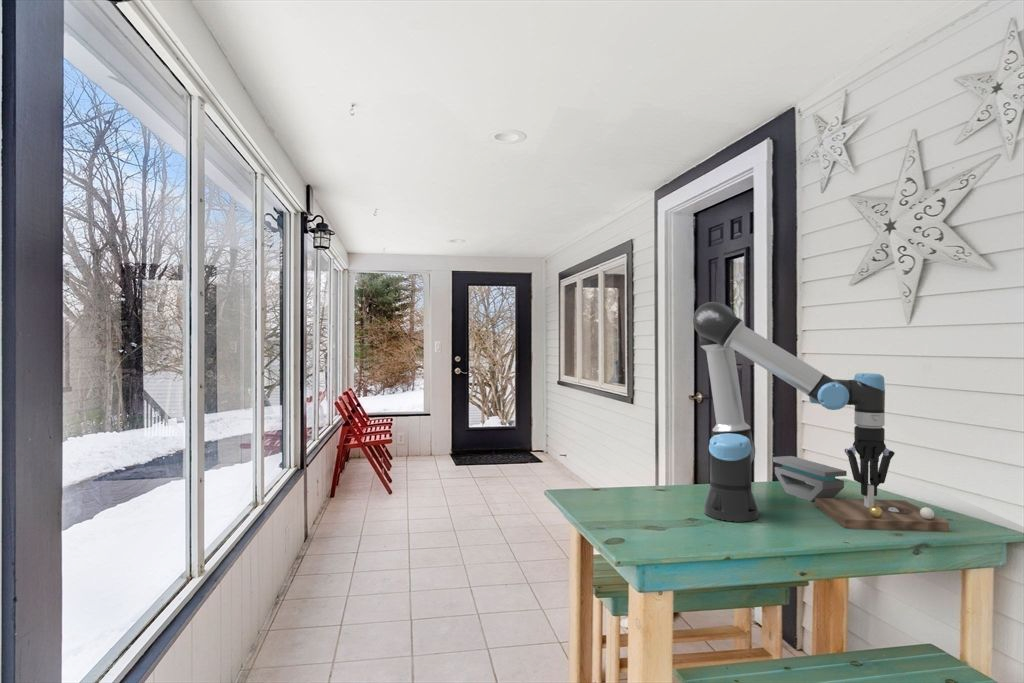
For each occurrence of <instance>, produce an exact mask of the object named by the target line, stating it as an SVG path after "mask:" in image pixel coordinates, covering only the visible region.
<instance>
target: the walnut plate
mask: <svg viewBox="0 0 1024 683" xmlns="http://www.w3.org/2000/svg"><path fill="white" fill-rule="evenodd" d="M874 506H878V507H880V508H881V509H882V512H883V514H882V516H881V517H879V518H874V517H872V516H871V515H870V513H869V509H870V508H868V507H866V506H864V498H835V497H833V498H815V501H814V507H816V508H817V507H818V508H819V509H818V508H817V509H818V510H820V511H821V510H822V511H823V512H822V511H821V512H822V513H824V514H825V515H826V514H827V515H826V516H828V517H829V518H830V517H831V518H830V519H832V520H833V521H835V522H836V523H837V524H839V525H840V526H841V527H843V528H844V529H853V530H883V531H884V530H887V531H910V532H911V531H912V532H913V531H915V532H916V531H918V532H943V533H945V532H946V533H948V532H949V530H950V529H949V528H950V526H949V524H950V522H948V521H947V520H944V519H943V518H940V517H939V516H937V515H935V514H934V517H933V518H932V519H924V518H923V517H922V516H921V515H920V510H921V509H922V508H921V507H919V506H917V505H915V504H913V503H912V502H909V501H907V500H905V499H875V498H874ZM891 507H894V508H896V509H898V510H899V512H893V511H889V510H887V509H888V508H891Z"/></svg>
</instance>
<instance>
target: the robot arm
mask: <svg viewBox="0 0 1024 683" xmlns="http://www.w3.org/2000/svg"><path fill="white" fill-rule="evenodd" d="M692 319H693V320H692V323H693V327H694V330H695V331H696V332H697V334H698V336H699V337H698V338H699V346H700V348H702V349H703V350H704V351H705V353H706V358H707V360H706V361H707V367H708V374H709V379H710V380H709V381H710V388H711V395H712V402H713V408H714V410H713V411H714V416H715V423H716V424H715V425H714V427H713V428H712V429H711V430H712V437H711V438H710V439H709V445H708V450H709V489H708V493H707V496H706V499H705V501H704V505H703V507H704V508H703V510H704V511H703V512H705V513H704V515H706V514H707V515H708V516H707V515H706V516H707V517H709V516H710V517H709V518H712V519H715V520H719V519H721V520H720V521H724V520H726V522H732V521H734V522H735V523H739V522H740V523H745V522H747V523H748V522H752V521H755V520H757V519H758V518H759V508H758V505H757V503H756V500H755V497H754V493H753V490H752V463H753V461H754V459H755V456H756V446H755V443H754V441H753V436H752V431H751V429H752V428H751V426H750V425H749V424H748V423H746V421H745V416H744V409H743V408H744V407H743V402H742V396H741V388H740V381H739V374H738V367H737V360H736V354H735V352H737V353H739V354H740V355H742V356H744V357H745V358H747V359H749V360H750V361H752V362H753V363H755V364H756V365H758V366H760V367H761V368H763V369H765V370H766V371H768V372H769V373H770V374H772V375H775V376H776V377H777V378H779V379H781V380H782V381H784V382H786V383H787V384H788V385H790V386H792V387H794V388H795V389H797V390H799V391H800V392H801V393H804V394H805V395H806V396H808V397H809V398H808V399H809V402H810V403H811V404H819V405H821V406H822V407H824V408H825V409H827V410H830V411H837V410H840V409H843V408H845V406H853V407H854V417H853V418H854V420H853V421H854V422H853V423H854V425H855V426H854V429H853V430H854V431H853V432H854V433H853V435H854V436H853V437H854V441H853V443H852V446H850V447H849V448H845V449H844V450H843V451H844V453H845V454H846V455H847V457H848V462H849V466H850V468H851V473H852V477H853V478H852V479H853V481H855V482H857V483H858V484H860V493H861V496H863V499H864V506H866V507H868V508H871V507H872V506H874V499H875V497H877V495H878V487H879V486H880V484H884V483H885V482H886V479H887V478H886V477H887V475H888V470H889V467H890V463H891V461H892V458H893V457H894V456H895V455H896V454H895V451H893V450H890V449H889V448H887V445H886V443H885V440H886V438H885V431H886V430H885V428H884V426H885V421H886V420H885V417H886V416H885V413H886V412H885V409H886V406H885V405H886V404H885V403H886V399H885V398H886V388H885V387H886V386H885V377H884V375H882V374H881V373H871V372H870V373H868V372H867V373H861V372H860V373H859V372H857V373H855V374H854V378H853V379H835V378H832V377H830V376H828V375H826V374H825V373H823V372H821V371H820V370H818V369H817V368H815V367H813V366H812V365H810V364H808V363H807V362H805V361H803V360H802V359H800V358H799V357H796V356H795V355H794V354H792V353H790V352H789V351H788V350H785V349H784V348H782V347H780V346H779V345H777V344H776V343H773V341H770V340H769V339H767V338H765V337H764V336H762V335H760V334H759V333H758V332H755V331H754V330H752V329H751V328H749V327H747V326H746V325H745V324H744V320H743V319H741V318H739V317H737V315H736V314H735V312H734V311H733V309H732V308H731V307H730V306H728V305H727V304H723V303H720V302H717V301H708V302H705V303H703V304H702V305H700V306H699V307H698V308H697V309H696V310H695V311H694V314H693V317H692ZM856 453H857V454H858V456H859V461H860V463H859V464H860V466H859V464H858V459H857V457H856ZM881 455H882V457H881V460H879V459H880V456H881ZM879 462H880V463H879ZM859 467H860V468H859Z"/></svg>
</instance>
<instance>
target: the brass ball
mask: <svg viewBox="0 0 1024 683" xmlns="http://www.w3.org/2000/svg"><path fill="white" fill-rule="evenodd" d="M869 513H870V515H871V516H872V517H874V518H879V517H881V516H882V514H883V512H882V509H881V508H880V507H878V506H872V507H871V508H870V509H869Z"/></svg>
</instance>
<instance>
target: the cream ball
mask: <svg viewBox="0 0 1024 683" xmlns="http://www.w3.org/2000/svg"><path fill="white" fill-rule="evenodd" d="M920 515H921V516H922V517H923V518H924V519H932V518H933V517H934V515H935V512H934V510H933V509H932V508H930V507H927V506H924V507H922V508H921V510H920Z"/></svg>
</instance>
